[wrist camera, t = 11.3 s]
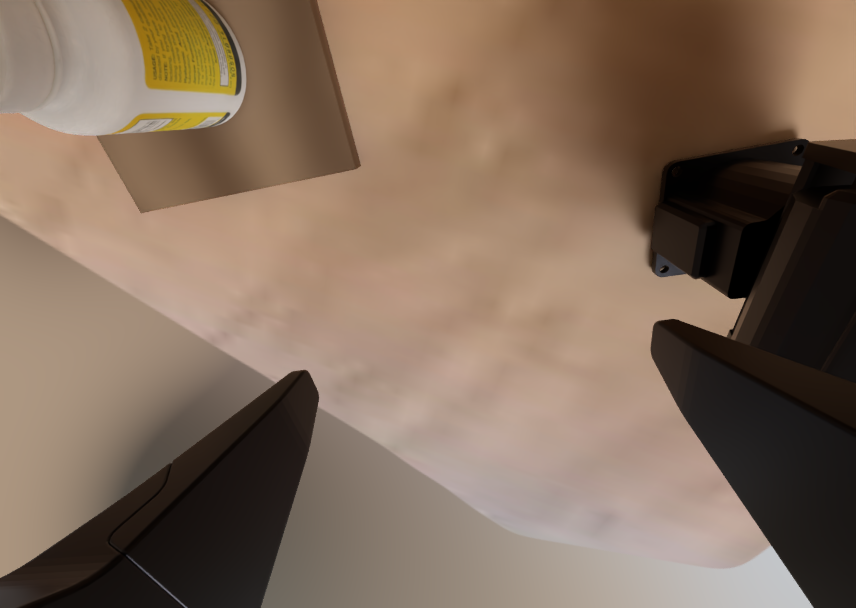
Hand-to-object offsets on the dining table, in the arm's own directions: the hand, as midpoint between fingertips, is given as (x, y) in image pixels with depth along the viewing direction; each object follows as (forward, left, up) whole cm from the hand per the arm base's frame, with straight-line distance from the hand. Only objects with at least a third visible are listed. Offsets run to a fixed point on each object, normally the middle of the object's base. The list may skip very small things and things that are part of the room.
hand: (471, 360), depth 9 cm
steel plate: (+11, -9, -13) cm, 20 cm away
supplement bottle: (+11, -10, -12) cm, 19 cm away
